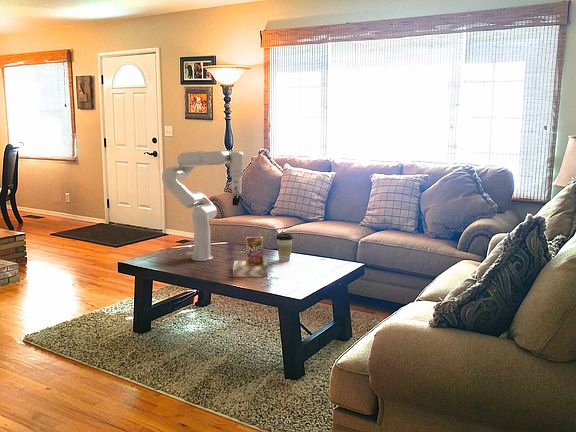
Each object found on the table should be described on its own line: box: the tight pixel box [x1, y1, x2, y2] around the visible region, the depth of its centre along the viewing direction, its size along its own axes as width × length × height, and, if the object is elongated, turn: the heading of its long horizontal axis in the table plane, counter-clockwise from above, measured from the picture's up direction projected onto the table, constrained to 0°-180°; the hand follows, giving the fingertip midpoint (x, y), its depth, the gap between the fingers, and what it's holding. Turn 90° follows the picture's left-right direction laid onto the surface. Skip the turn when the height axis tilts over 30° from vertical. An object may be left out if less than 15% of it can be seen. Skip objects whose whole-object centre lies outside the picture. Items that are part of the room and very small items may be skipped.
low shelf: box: [232, 255, 268, 278], centre depth 307 cm, size 18×18×6 cm
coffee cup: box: [275, 233, 294, 263], centre depth 333 cm, size 10×10×15 cm
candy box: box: [245, 236, 264, 266], centre depth 306 cm, size 9×4×15 cm, turn 102°
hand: (236, 204), depth 322 cm, fingers open, 9 cm apart
